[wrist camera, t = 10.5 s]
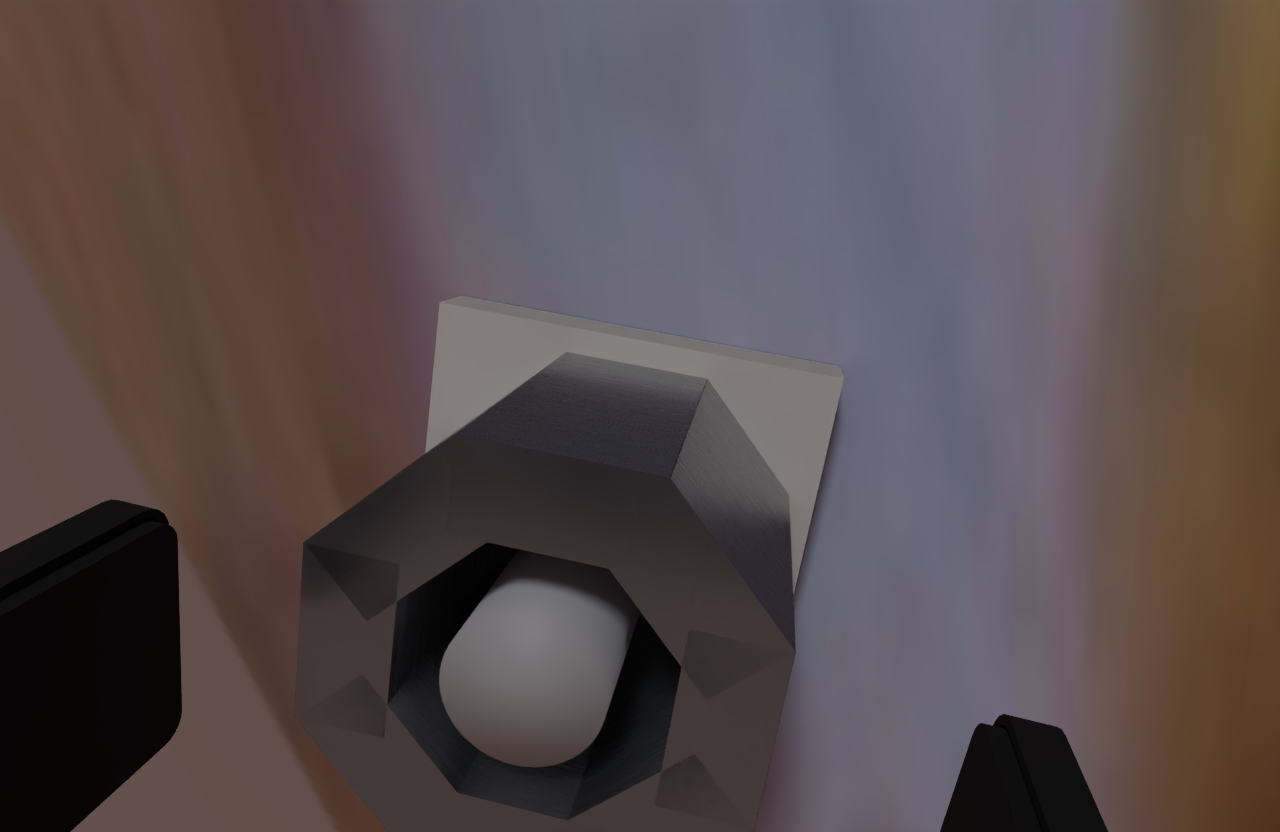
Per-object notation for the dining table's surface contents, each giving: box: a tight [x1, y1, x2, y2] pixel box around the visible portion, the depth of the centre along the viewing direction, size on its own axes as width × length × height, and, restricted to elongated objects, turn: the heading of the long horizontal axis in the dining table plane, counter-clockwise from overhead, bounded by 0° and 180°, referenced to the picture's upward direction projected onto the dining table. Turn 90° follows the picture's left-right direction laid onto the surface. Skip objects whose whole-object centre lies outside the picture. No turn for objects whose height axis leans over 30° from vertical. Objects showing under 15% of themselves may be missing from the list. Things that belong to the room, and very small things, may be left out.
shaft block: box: [425, 296, 844, 767], centre depth 15 cm, size 8×8×7 cm
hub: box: [294, 352, 796, 832], centre depth 15 cm, size 7×7×6 cm
